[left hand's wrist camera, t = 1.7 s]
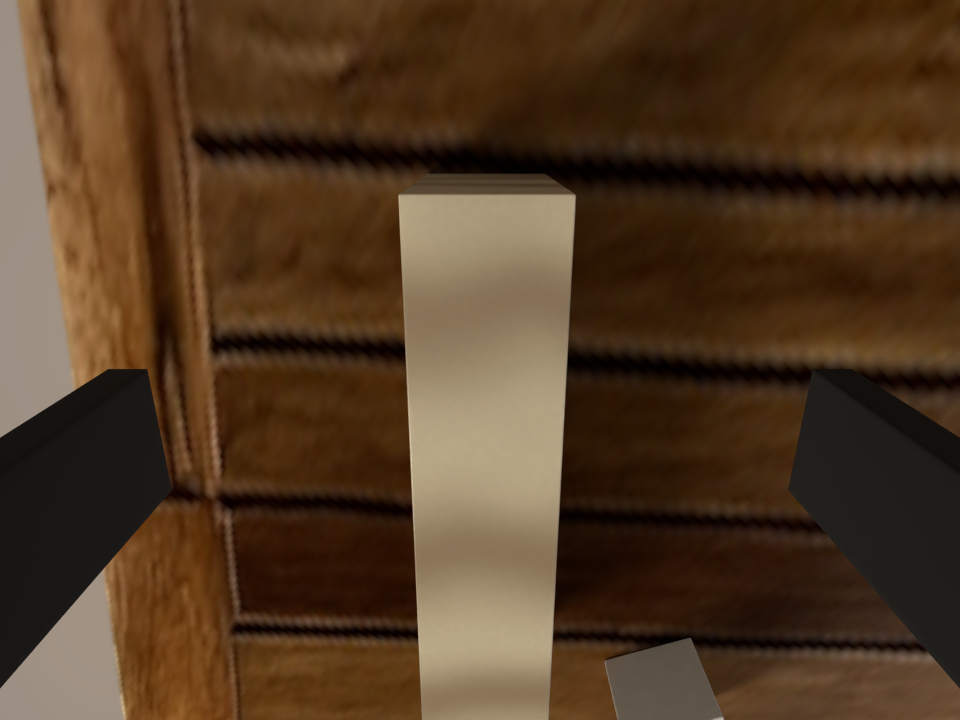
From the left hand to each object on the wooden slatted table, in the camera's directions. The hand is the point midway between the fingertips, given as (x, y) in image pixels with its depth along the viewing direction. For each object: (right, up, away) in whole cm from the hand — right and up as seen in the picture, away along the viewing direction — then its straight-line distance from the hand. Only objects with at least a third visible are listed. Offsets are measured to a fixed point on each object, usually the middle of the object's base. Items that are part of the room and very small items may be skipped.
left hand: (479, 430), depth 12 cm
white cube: (+10, -17, +23) cm, 30 cm away
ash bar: (0, -2, +17) cm, 18 cm away
